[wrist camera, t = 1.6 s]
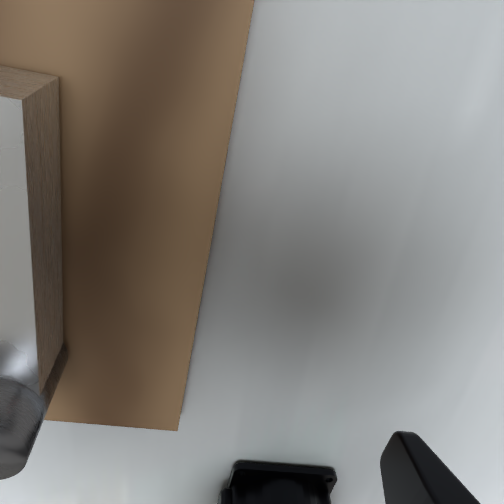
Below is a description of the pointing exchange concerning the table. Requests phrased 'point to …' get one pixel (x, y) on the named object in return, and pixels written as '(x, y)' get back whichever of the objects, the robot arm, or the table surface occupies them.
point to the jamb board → (133, 186)
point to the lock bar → (29, 260)
